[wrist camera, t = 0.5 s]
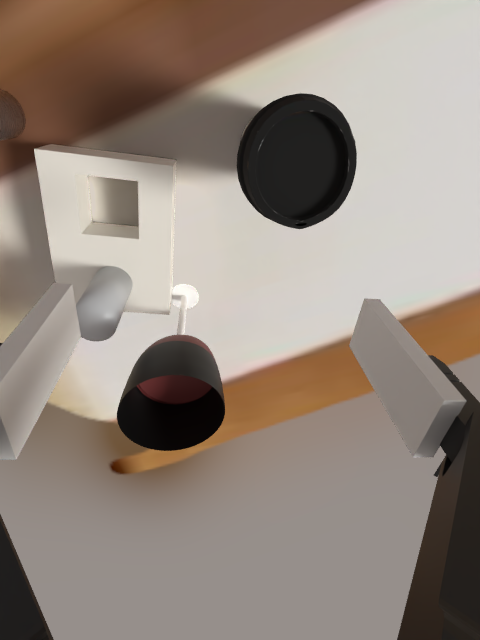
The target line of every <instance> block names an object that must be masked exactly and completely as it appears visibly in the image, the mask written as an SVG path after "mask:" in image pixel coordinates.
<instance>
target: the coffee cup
mask: <svg viewBox="0 0 480 640" xmlns="http://www.w3.org/2000/svg"><path fill="white" fill-rule="evenodd" d="M356 155H357V153H356V146H355V140H354V137H353V134H352V131H351V129H350V126H349V124H348V122H347V120H346V119H345V117H344V115H343V114H342V112H341V111H340V110H339V109H338V108H337V107H336V106H335V105H334V104H332V103H330V102H329V101H327V100H326V99H324V98H322V97H319V96H316V95H313V94H294V95H289V96H285V97H282V98H280V99H277V100H275V101H273V102H271V103H270V104H268V105H267V106H266V107H264V108H263V109H262V110H261V111H260V112H259V113H258V114H257V115H256V116H255V117H254V118H252V119H251V120H250V121H249V122H248V124H247V125H246V127H245V129H244V131H243V134H242V137H241V141H240V146H239V150H238V154H237V172H238V179H239V182H240V185H241V188H242V191H243V192H244V194H245V196H246V198H247V199H248V201H249V202H250V203H251V204H252V205H253V207H254V208H255V209H256V210H257V211H258V212H259V213H261V214H262V215H263V216H264V217H266V218H268V219H270V220H272V221H274V222H277V223H279V224H281V225H284V226H287V227H291V228H296V229H303V228H307V227H309V226H312V225H315V224H317V223H319V222H321V221H323V220H325V219H326V218H328V217H329V216H331V215H332V214H333V213H334V212H335V211H337V210H338V209H339V207H340V206H341V205H342V203H343V202H344V201H345V199H346V197H347V195H348V193H349V191H350V189H351V186H352V183H353V180H354V176H355V170H356Z"/></svg>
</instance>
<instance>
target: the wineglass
mask: <svg viewBox="0 0 480 640" xmlns="http://www.w3.org/2000/svg"><path fill="white" fill-rule="evenodd" d="M198 300H199V295H198V292H197V290H196V289H195V288H194V287H192V286H191V285H188V284H180V285H177V286H176V287H174V288H173V289H172V303H173V304H174V305H175V306H176V307H178V308H180V313H179V321H178V329H177V335H172V336H168V337H165V338H163V339H160V340H158V341H156V342H155V343H154V344H152V345H151V346H150V347H148V348H147V349H146V350H145V351H144V353H143V354H142V355H141V356H140V357H139V359H138V360H137V362H136V364H135V366H134V367H133V370H132V372H131V374H130V376H129V379H128V381H127V384H126V386H125V389H124V391H123V394H122V397H121V400H120V403H119V407H118V411H117V420H118V424H119V426H120V429H121V430H122V432H123V433H124V434H125V435H126V436H127V437H128V438H129V439H130V440H131V441H133V442H134V443H136V444H138V445H140V446H143V447H146V448H149V449H154V450H162V451H172V450H180V449H185V448H189V447H192V446H195V445H197V444H199V443H201V442H203V441H205V440H206V439H208V438H209V437H210V436H212V435H213V434H214V433H215V432H216V431H217V430H218V428H219V427H220V425H221V423H222V421H223V419H224V415H225V403H224V394H223V388H222V382H221V378H220V373H219V370H218V367H217V364H216V361H215V359H214V356H213V354H212V352H211V351H210V349H209V348H208V346H207V345H206V344H205V343H203V342H202V341H201V340H199V339H197V338H195V337H192V336H189V335H184V331H185V320H186V309H189V308H192V307H194V306H195V305H196V304H197V302H198Z"/></svg>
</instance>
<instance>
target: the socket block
mask: <svg viewBox="0 0 480 640" xmlns="http://www.w3.org/2000/svg"><path fill="white" fill-rule="evenodd" d="M34 153H35V159H36V165H37V171H38V178H39V184H40V190H41V197H42V203H43V209H44V215H45V222H46V228H47V234H48V240H49V247H50V253H51V259H52V266H53V272H54V278H55V283H64V284H72V286H73V292H74V298H75V304H76V310H77V316H78V322H79V328H80V334H81V337H82V338H84V339H87V340H90V341H103V340H106V339H108V338H110V337H111V336H112V335H113V334H114V333H115V331H116V328H117V326H118V323H119V321H120V318H121V316H122V313H123V312H136V313H151V314H166V315H169V313H170V307H171V301H172V285H173V253H174V221H175V189H176V160H174V159H167V158H159V157H151V156H143V155H135V154H127V153H119V152H111V151H103V150H95V149H87V148H79V147H71V146H63V145H55V144H49V145H46V146H42V147H39V148H35V149H34ZM88 176H97V177H105V178H114V179H122V180H131V181H138V210H139V227H138V226H128V225H118V224H108V223H98V222H92V214H91V203H90V192H89V181H88Z"/></svg>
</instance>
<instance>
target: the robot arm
mask: <svg viewBox="0 0 480 640" xmlns="http://www.w3.org/2000/svg"><path fill="white" fill-rule="evenodd" d="M80 338H81V334H80V328H79V322H78V316H77V310H76V304H75V298H74V292H73V286H72V284H64V283H53V284H52V285H51V286H50V287H49V289H48V290H47V291H46V292H45V293H44V295H43V296H42V297H41V298H40V299H39V301H38V302H37V303H36V304H35V305H34V307H33V308H32V309H31V310H30V311H29V313H28V314H27V315H26V316H25V317H24V319H23V320H22V321H21V322H20V323H19V325H18V326H17V327H16V328H15V329H14V331H13V332H12V333H11V334H10V335H9V337H8V338H7V339H6V340H5V341H4V343H0V460H16V459H17V457H18V455H19V454H20V452H21V450H22V448H23V446H24V444H25V442H26V440H27V438H28V436H29V435H30V433H31V431H32V429H33V427H34V425H35V423H36V421H37V419H38V417H39V416H40V414H41V412H42V410H43V408H44V406H45V404H46V402H47V401H48V399H49V397H50V395H51V393H52V391H53V389H54V387H55V385H56V383H57V382H58V380H59V378H60V376H61V374H62V372H63V370H64V368H65V366H66V365H67V363H68V361H69V359H70V357H71V355H72V353H73V351H74V349H75V348H76V346H77V344H78V342H79V340H80ZM349 347H350V348H351V350H352V352H353V354H354V355H355V357H356V359H357V361H358V362H359V364H360V366H361V367H362V369H363V371H364V373H365V374H366V376H367V378H368V380H369V381H370V383H371V385H372V387H373V388H374V390H375V392H376V394H377V395H378V397H379V399H380V401H381V402H382V404H383V406H384V408H385V409H386V411H387V413H388V414H389V416H390V418H391V420H392V422H393V423H394V425H395V427H396V428H397V430H398V432H399V434H400V435H401V437H402V439H403V441H404V442H405V444H406V446H407V448H408V449H409V451H410V453H411V455H412V456H413V457H434V455H435V453H436V451H437V450H438V448H439V447H440V446H441V447H442V449H443V450H444V452H445V453H446V456H445V458H444V460H443V461H442V463H441V464H440V466H439V468H438V469H437V471H436V472H435V474H434V476H436V477H437V476H438V475H439V476H438V480H437V484H436V488H435V492H434V496H433V500H432V504H431V508H430V512H429V516H428V520H427V524H426V528H425V532H424V536H423V540H422V544H421V548H420V552H419V555H418V559H417V563H416V567H415V571H414V575H413V579H412V583H411V587H410V591H409V595H408V599H407V603H406V607H405V611H404V615H403V619H402V623H401V627H400V631H399V635H398V638H397V640H480V403H479V401H478V400H477V399H476V398H475V397H474V396H473V395H472V394H471V393H470V391H469V390H468V389H467V388H466V387H465V386H464V385H463V384H462V382H459V379H458V378H457V377H456V376H455V375H453V372H452V371H451V370H450V369H449V368H448V367H447V366H446V365H445V364H444V363H443V362H442V361H440V360H439V359H437V358H436V357H434V356H430V355H427V354H426V353H425V352H424V350H423V349H422V348H421V347H420V346H419V345H418V343H417V342H416V341H415V340H414V339H413V338H412V336H411V335H410V334H409V333H408V332H407V331H406V330H405V328H404V327H403V326H402V325H401V324H400V323H399V321H398V320H397V319H396V318H395V317H394V316H393V314H392V313H391V312H390V311H389V310H388V309H387V307H386V306H385V305H384V304H383V303H382V302H381V300H380V299H364V301H363V304H362V307H361V311H360V314H359V317H358V320H357V323H356V326H355V329H354V332H353V336H352V339H351V342H350V345H349ZM0 640H53V637H52V635H51V632H50V630H49V628H48V625H47V623H46V621H45V618H44V616H43V614H42V611H41V609H40V606H39V604H38V602H37V599H36V597H35V595H34V592H33V590H32V588H31V585H30V583H29V581H28V578H27V576H26V574H25V571H24V569H23V567H22V564H21V562H20V559H19V557H18V555H17V552H16V550H15V548H14V545H13V543H12V541H11V538H10V536H9V533H8V531H7V529H6V527H5V524H4V522H3V519H2V517H1V515H0Z"/></svg>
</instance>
